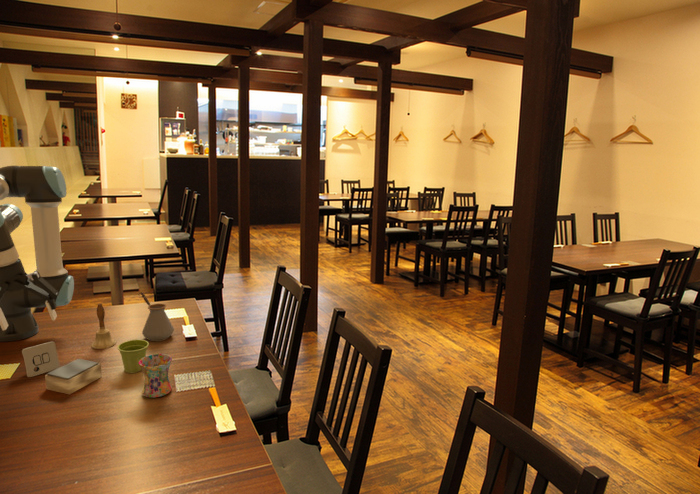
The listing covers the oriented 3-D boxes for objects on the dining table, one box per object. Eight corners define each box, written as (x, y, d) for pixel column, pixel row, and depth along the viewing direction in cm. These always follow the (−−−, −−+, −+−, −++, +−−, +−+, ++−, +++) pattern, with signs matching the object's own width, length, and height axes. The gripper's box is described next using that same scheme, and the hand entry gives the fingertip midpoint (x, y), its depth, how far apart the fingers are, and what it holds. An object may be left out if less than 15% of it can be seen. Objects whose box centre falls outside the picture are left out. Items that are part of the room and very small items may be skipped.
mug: (177, 394, 142) (175, 362, 139) (144, 403, 136) (142, 370, 134) (166, 378, 151) (164, 348, 149) (135, 386, 146) (133, 354, 143)
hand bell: (100, 350, 170) (96, 309, 166) (86, 345, 174) (82, 304, 170) (120, 343, 177) (118, 303, 173) (107, 338, 181) (104, 298, 177)
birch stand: (79, 372, 153) (78, 357, 152) (101, 376, 151) (100, 362, 150) (46, 389, 142) (44, 373, 141) (69, 394, 140) (67, 379, 139)
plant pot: (152, 362, 162) (150, 338, 160) (147, 374, 153) (146, 350, 151) (122, 364, 160) (121, 340, 158) (116, 377, 151) (114, 352, 149)
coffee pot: (179, 338, 183) (177, 301, 180) (149, 346, 175) (147, 307, 172) (156, 322, 198) (154, 288, 195) (128, 329, 190) (126, 294, 187)
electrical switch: (28, 378, 148) (24, 350, 147) (22, 375, 151) (18, 347, 150) (60, 369, 155) (57, 342, 154) (54, 365, 159) (51, 339, 157)
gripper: (-51, 276, 130) (-21, 339, 139) (48, 259, 136) (71, 320, 145) (-39, 264, 137) (-11, 325, 145) (55, 249, 143) (76, 308, 151)
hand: (30, 323), depth 145 cm, fingers open, 13 cm apart
